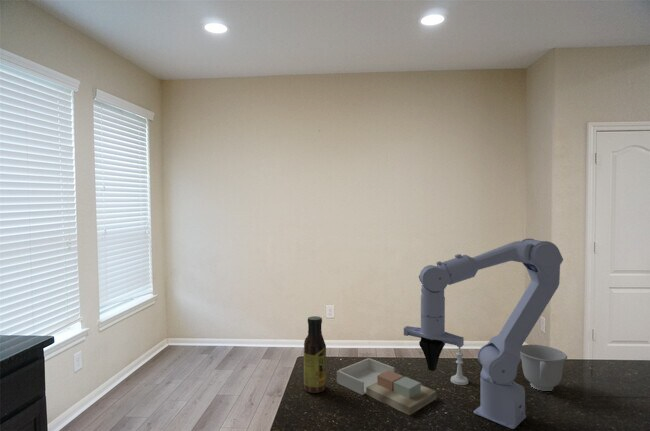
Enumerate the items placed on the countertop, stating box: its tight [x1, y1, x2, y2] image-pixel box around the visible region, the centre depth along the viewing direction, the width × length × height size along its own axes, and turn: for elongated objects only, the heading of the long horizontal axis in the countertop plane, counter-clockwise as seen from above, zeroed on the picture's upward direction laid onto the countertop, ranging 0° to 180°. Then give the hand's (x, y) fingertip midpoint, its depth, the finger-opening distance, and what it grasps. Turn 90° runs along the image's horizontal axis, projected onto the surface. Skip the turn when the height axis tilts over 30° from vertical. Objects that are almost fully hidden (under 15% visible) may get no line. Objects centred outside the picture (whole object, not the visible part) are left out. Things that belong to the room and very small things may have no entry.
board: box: [366, 382, 437, 416], centre depth 100 cm, size 14×12×2 cm
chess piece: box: [450, 347, 469, 386], centre depth 109 cm, size 5×5×10 cm
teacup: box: [520, 344, 568, 392], centre depth 103 cm, size 12×15×10 cm
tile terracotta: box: [377, 370, 404, 391], centre depth 102 cm, size 5×5×2 cm
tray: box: [336, 357, 395, 396], centre depth 109 cm, size 10×14×4 cm
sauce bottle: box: [303, 315, 327, 394], centre depth 104 cm, size 7×6×20 cm
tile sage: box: [394, 376, 422, 399], centre depth 98 cm, size 5×5×2 cm
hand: (432, 369), depth 92 cm, fingers closed
